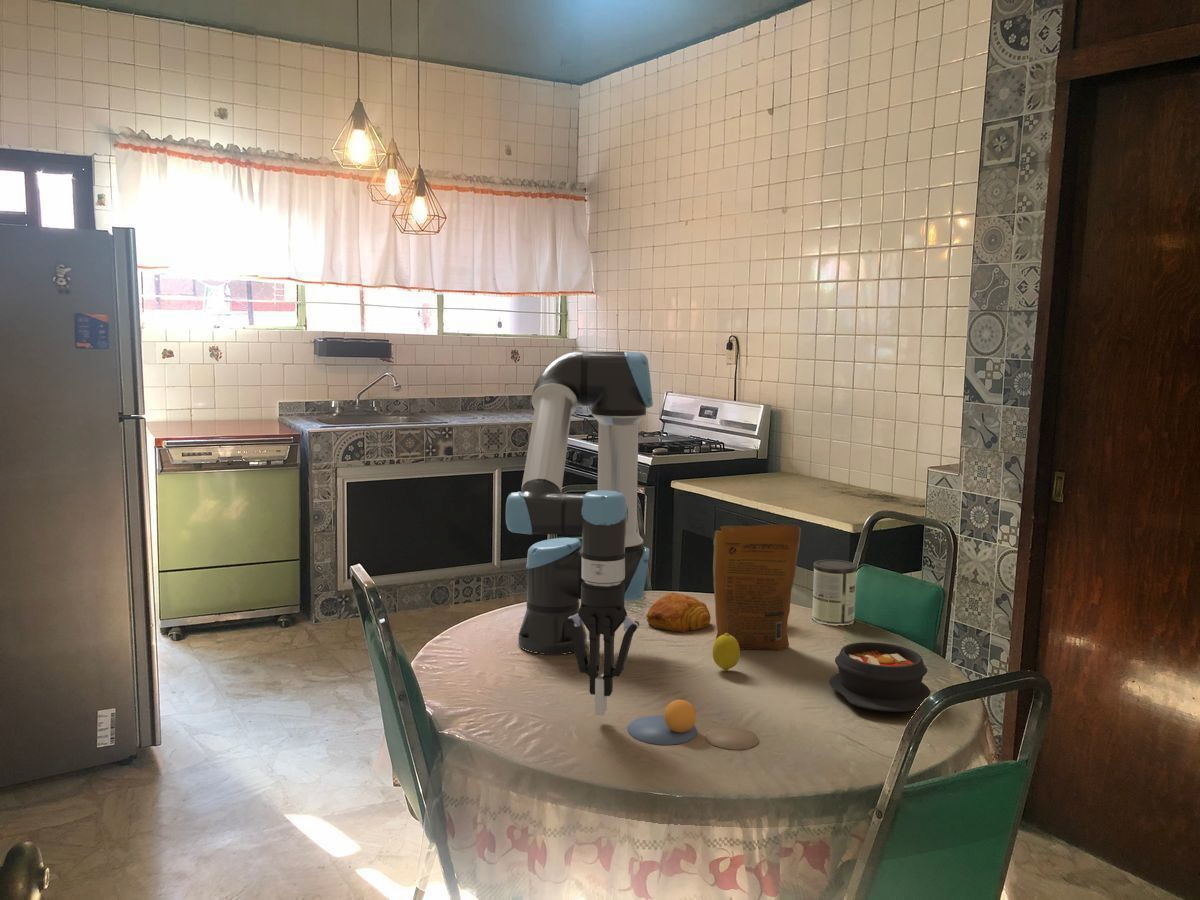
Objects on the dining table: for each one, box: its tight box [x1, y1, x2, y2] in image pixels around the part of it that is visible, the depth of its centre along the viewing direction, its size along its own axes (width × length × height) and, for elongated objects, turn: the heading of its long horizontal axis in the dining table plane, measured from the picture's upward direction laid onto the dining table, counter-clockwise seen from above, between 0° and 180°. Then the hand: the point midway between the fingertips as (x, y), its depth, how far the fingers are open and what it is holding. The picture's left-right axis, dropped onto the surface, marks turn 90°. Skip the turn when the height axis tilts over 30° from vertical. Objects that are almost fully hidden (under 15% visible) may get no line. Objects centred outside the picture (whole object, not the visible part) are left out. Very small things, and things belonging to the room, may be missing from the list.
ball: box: [663, 699, 697, 733], centre depth 160 cm, size 6×6×6 cm
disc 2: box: [704, 726, 760, 751], centre depth 158 cm, size 9×9×1 cm
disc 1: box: [627, 714, 698, 746], centre depth 161 cm, size 12×12×1 cm
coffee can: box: [811, 559, 858, 624], centre depth 227 cm, size 10×10×14 cm
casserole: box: [829, 641, 932, 713], centre depth 178 cm, size 25×19×8 cm
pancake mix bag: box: [712, 524, 802, 651], centre depth 205 cm, size 7×19×28 cm, turn 87°
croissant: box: [645, 592, 711, 633], centre depth 223 cm, size 14×16×8 cm
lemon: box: [712, 633, 741, 672], centre depth 190 cm, size 6×6×8 cm
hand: (600, 712), depth 163 cm, fingers closed
